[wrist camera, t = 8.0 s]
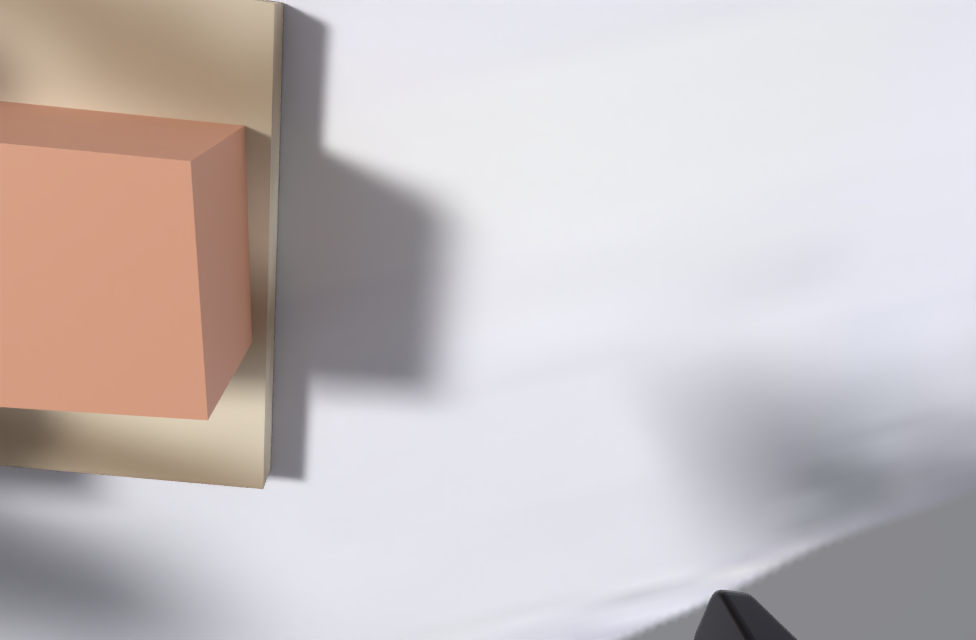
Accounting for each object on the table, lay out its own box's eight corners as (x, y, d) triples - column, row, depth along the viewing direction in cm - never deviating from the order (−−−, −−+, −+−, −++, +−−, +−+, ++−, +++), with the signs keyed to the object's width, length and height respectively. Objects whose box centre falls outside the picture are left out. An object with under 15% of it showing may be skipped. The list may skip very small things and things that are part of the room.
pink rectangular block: (252, 341, 20) (208, 420, 16) (-88, 317, 19) (-214, 393, 15) (245, 125, 17) (190, 161, 14) (-147, 86, 17) (-314, 112, 13)
